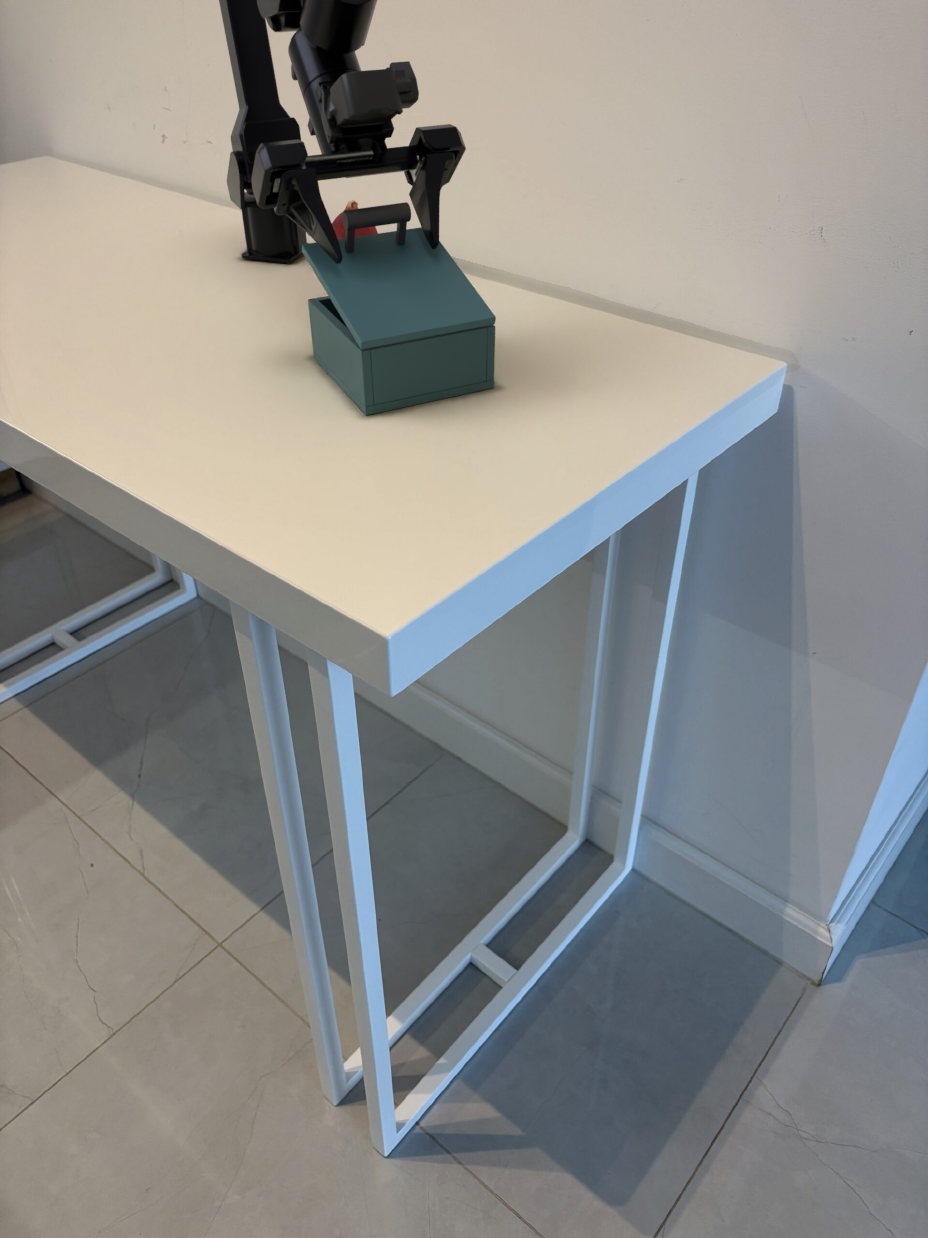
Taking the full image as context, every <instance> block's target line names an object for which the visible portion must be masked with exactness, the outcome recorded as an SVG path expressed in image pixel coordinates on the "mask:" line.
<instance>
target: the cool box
mask: <svg viewBox="0 0 928 1238" xmlns="http://www.w3.org/2000/svg"><path fill="white" fill-rule="evenodd" d="M307 306H308V315H309V324H310V333H311V334H310V335H311V342H312V343H311V344H312V354H313V359H314V361H316V362H317V364H319V366H320V367H321V369H323V370H324V371H325V372H326V374H328V376H329V377H330V378H331V379H332V380H333V381H334V382H335V383H336V384H337V386H338V387H339V388H340V389H341V390H342V391H343V392H344V393H345V394H346V395H347V397H348V398H349V399H350V400H351V401H352V402H353V403H354V404H355V405H356V406H357V408H359V410H360V411H361V412H362V413H363V414H364V415H365V416H370V415H375V414H380V413H383V412H390V411H393V410H398V409H402V408H407V407H411V406H416V405H420V404H425V403H430V402H431V403H432V402H435V401H439V400H444V399H448V398H453V397H457V396H463V395H467V394H472V393H476V392H481V391H486V390H491V389H494V388H495V364H496V363H495V362H496V361H495V357H496V325H495V324H494V325H489V326H484V327H479V328H473V329H468V330H463V331H458V332H452V333H447V334H442V335H436V336H431V337H426V338H421V339H415V340H410V341H405V342H399V343H394V344H389V345H384V346H378V347H373V348H368V349H362V350H361V349H360V347H359V345H358V344H357V342H356V341H355V339H354V337H353V336H352V334H351V332H350V331H349V329H348V327H347V326H346V324H345V322H344V321H343V319H342V317H341V316H340V314H339V312H338V311H337V309H336V307H335V306H334V304H333V302H332V301H331V299H330V297H329V296H328V295H327V296H326V295H325V296H319V297H313V298H308V299H307Z"/></svg>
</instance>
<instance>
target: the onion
mask: <svg viewBox="0 0 928 1238" xmlns="http://www.w3.org/2000/svg"><path fill="white" fill-rule="evenodd" d="M358 206H359V203H358V202H357V201H355V200H353V199H352V200H349V201H347V204H346V205H345V208H344V210H343V211H345V210H352V209H359V207H358ZM343 211H341V212H340V213H339V214H338V215H337V216H336V217H335V218H334V219H333V221H332V222H331V223H332V226H333V228H334V231H335V233H336V236H337V238H338V239H344V238H345V228H344V225H343V221H342V213H343ZM378 233H379V232H378V230H377V226H374V227H367V228H360V229H355V237H358V236H365V235H371V234H378Z"/></svg>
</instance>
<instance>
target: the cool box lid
mask: <svg viewBox="0 0 928 1238" xmlns="http://www.w3.org/2000/svg"><path fill="white" fill-rule="evenodd" d="M344 210H345V209H344ZM344 210H342V212H343V213H342V212H341V213H342V221H343V225H344V228H345V238H344V239H338V241H339V245H340V249H341V252H342V256H343V259H342V261H341V263H340V264H336V263H335V262H334V261H333V260H332V259H331V258H330V257H329V255H328V254H327V253H326V252H325V251H324V250H323V249H322V248H321V247H320V246H319V245H318V244H317V243H316V242H310V243H309V244H303V245H302V255H303V256H304V258H305V259H306V261H307V262H308V264H309V265H310V268H311V269H312V271H313V273H314V274H315V276H316V277H317V279H318V281H319V283H320V284H321V286H322V288H323V289H324V291H325V293H326V295H327V296H329V297H330V299H331V301H332V302H333V304H334V306H335V307H336V309H337V311H338V312H339V314H340V316H341V317H342V319H343V321H344V322H345V324H346V326H347V327H348V329H349V331H350V332H351V334H352V336H353V337H354V339H355V341H356V342H357V344H358V345H359V347H360V349H361V350H362V349H368V348H373V347H378V346H384V345H389V344H394V343H399V342H405V341H410V340H415V339H421V338H426V337H431V336H436V335H442V334H447V333H452V332H458V331H463V330H468V329H473V328H479V327H484V326H489V325H494V326H495V324H496V320H497V317H496V315H495V314H494V312H493V311H492V309H490V307H489V306H488V305H487V303H486V301H485V300H484V299H483V297H482V296H481V295H480V293H479V292H478V291H477V289H476V288H475V287H474V285H473V283H471V281H470V280H469V279H468V277H467V276H466V275H465V273H464V272H463V270H462V269H461V268H460V267H459V265H458V264H457V262H456V261H455V260H454V258H453V257H452V256H451V254H450V253H449V251H448V250H447V249H446V247H445V246H444V245H443V243H442V242H441V240H439V245H438V246H437V248H436V249H432V248H431V246H430V245H429V243H428V241H427V239H426V237H425V235H424V232H423V230H422V227H421V226H420V227H414V228H408V229H407V227H408V223H409V222H410V221H411V220H412V209H411V206H410V203H408V202H407V201H406V202H399V203H398V202H397V203H392V204H391V203H389V204H383V205H375V206H367V207H360V208H358V209H352V210H345V211H344ZM389 225H396V230H393V231H386V232H385V231H384V232H380V233H379V232H378V234H371V235H365V236H358V237H355V229H360V228H367V227H374V226H375V227H380V226H389Z"/></svg>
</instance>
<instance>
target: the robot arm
mask: <svg viewBox="0 0 928 1238" xmlns="http://www.w3.org/2000/svg"><path fill="white" fill-rule="evenodd" d="M218 3H219V8H220V14H221V18H222V23H223V24H222V25H223V29H224V35H225V40H226V46H227V51H228V57H229V61H230V67H231V71H232V77H233V82H234V87H235V93H236V98H237V104H238V113H237V115H236V119H235V122H234V125H233V128H232V131H231V134H230V143H231V150H232V151H231V152H230V154H229V160H228V166H227V167H228V168H227V175H226V185H227V189H228V194H229V199H230V201H231V202H232V203H233V204H234V205H235V206H236V207H237V208H239V209H240V210H241V217H242V225H243V231H244V237H245V243H246V244H245V245H246V250H245V251H243V252H242V253H241V254H240V255H241V259H243V260H253V261H254V260H255V261H263V262H275V263H285V264H288V263H292V262H293V261H294V260H296V259H297V258H298V257H299V256H301V255H303V253H302V245H303V244H309V243H308V241H307V240H308V239H307V234H308V236H309V237H310V238H312V240H313V241H314V243H317V244H318V245H319V246H320V247H321V248H322V249H323V250H324V251H325V252H326V253H327V254H328V255H329V257H330V258H331V259H332V260H333V261H334V262H335V263H336V264H340V263H341V261H342V259H343V256H342V252H341V249H340V245H339V241H338V238H337V236H336V233H335V231H334V228H333V226H332V223H333V222H332V221H331V218H330V216H329V213H328V211H327V208H326V205H325V204H324V201H323V198H322V194H321V192H320V185H319V181H327V180H335V179H344V178H345V179H352V178H359V177H369V176H377V175H385V174H394V173H404V176H405V179H406V182H407V184H409V186H412V187H411V188H410V190H409V193H408V195H409V199H410V201H411V203H412V206H413V208H414V212H415V213H416V217H417V219H418V222H419V223H420V227H422V230H423V232H424V235H425V237H426V239H427V241H428V243H429V245H430V246H431V248H432V249H436V248H437V246H438V245H439V241H440V206H441V205H440V200H441V191H442V189H443V187H444V186H445V185H447V184H449V183H450V181H451V179H452V178H453V175H454V173H455V171H456V170H457V168H458V166H459V164H460V162H461V160H462V159H463V157H464V154H465V152H466V150H467V148H466V145H465V142H464V139H463V136H462V133H461V131H460V130H459V128H458V127H457V126H455V125H453V124H451V123H446V124H437V125H428V126H418V127H415V129H414V132H413V134H412V137H411V138H410V141H409V144H408V145H405V146H404V145H403V146H395V147H388V146H387V144H386V143H387V142H386V139H391V138H392V136H393V133H394V131H395V127H394V124H393V119H394V118H395V117H396V116H397V115H402V113H403V112H404V110H403V109H410V108H411V107H413V106H414V105H415V104H416V103H417V102H418V100H419V96H420V92H419V91H420V90H419V86H418V80H417V77H416V74H415V72H414V69H413V67H412V65H411V62H410V61H395V62H390V63H389V66H388V67H386V68H382V69H380V68H379V69H369V70H362V69H361V66H360V63H359V59H358V57H357V54H356V51H358V50H359V49H361V48H362V47H363V46H365V44H366V41H367V38H368V33H369V30H370V27H371V23H372V20H373V17H374V14H375V10H376V7H377V3H378V0H218ZM267 24H268V25H267ZM268 27H269V29H271V31H273V32H274V33H290V32H295V33H294V34H293V35H292V36H291V38H290V41H289V44H288V48H287V52H288V57H289V59H290V62H291V65H290V71H291V73H290V74H291V79H292V80H293V81H297V84H298V87H299V90H300V93H301V96H302V99H303V102H304V105H305V108H306V111H307V114H308V116H309V117H308V122H307V128H308V131H309V134H310V136H313V137H314V136H315V138H316V141H317V144H318V147H319V150H320V153H321V154H320V153H319V154H311V155H309V153H308V150H307V147H306V144H305V142H304V141H302V135H301V127H300V124H299V123H298V121H297V119H296V118H295V117H291V116H290V115H289V113H288V112H287V111H286V108H284V107H283V105H282V104H281V101H280V97H279V90H278V86H277V85H278V84H277V79H276V73H275V66H274V61H273V55H272V50H271V43H270V38H269V37H270V36H269V31H268Z"/></svg>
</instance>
